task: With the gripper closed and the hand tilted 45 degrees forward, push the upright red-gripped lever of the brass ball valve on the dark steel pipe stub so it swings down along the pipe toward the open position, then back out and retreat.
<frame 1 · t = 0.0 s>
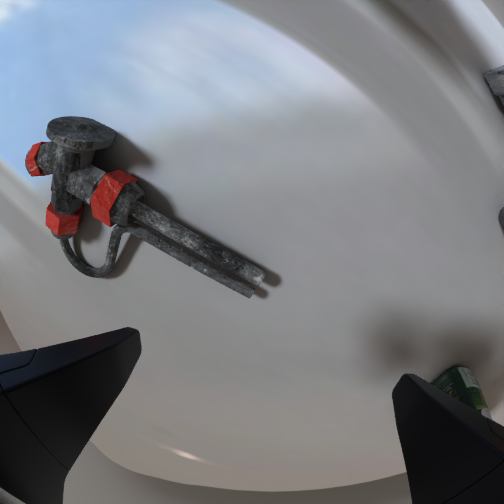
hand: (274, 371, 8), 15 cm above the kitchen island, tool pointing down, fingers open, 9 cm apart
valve: (127, 223, 24), on the kitchen island
coffee jar: (441, 387, 26), on the kitchen island
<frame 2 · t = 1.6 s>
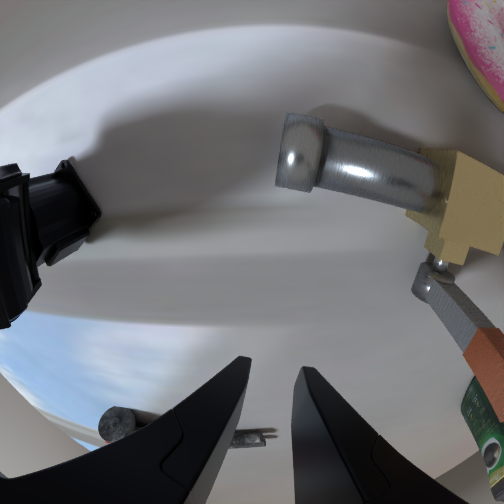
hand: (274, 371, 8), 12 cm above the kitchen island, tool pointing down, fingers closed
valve: (182, 436, 32), on the kitchen island
pipe valve: (444, 192, 16), on the kitchen island
lever: (467, 324, 11), point 7 cm above the kitchen island, hinge at 0.0°
donut: (493, 54, 11), on the kitchen island
coffee jar: (483, 382, 22), on the kitchen island
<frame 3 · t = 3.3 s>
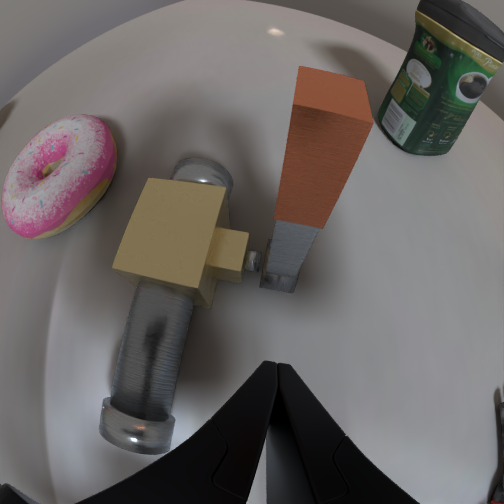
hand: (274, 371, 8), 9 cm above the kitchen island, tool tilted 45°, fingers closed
pipe valve: (186, 259, 19), on the kitchen island
lever: (294, 223, 12), point 7 cm above the kitchen island, hinge at 0.0°
donut: (67, 187, 22), on the kitchen island
coffee jar: (411, 135, 26), on the kitchen island
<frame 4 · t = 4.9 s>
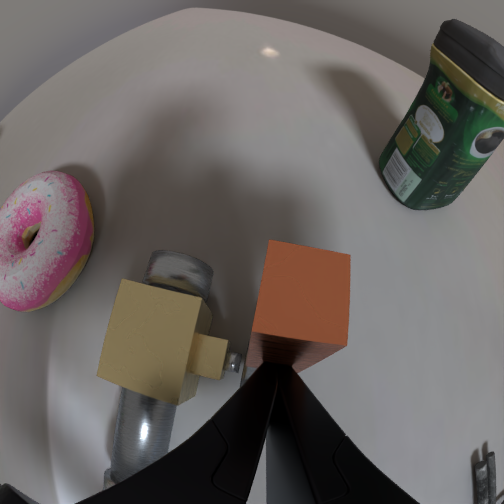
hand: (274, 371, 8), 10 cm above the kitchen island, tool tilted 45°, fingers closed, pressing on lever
pipe valve: (170, 346, 18), on the kitchen island
lever: (270, 352, 11), point 7 cm above the kitchen island, hinge at 7.8°, touching gripper
donut: (49, 250, 21), on the kitchen island
coffee jar: (414, 182, 25), on the kitchen island
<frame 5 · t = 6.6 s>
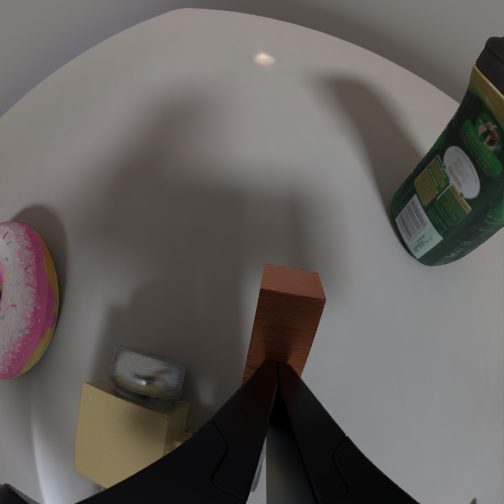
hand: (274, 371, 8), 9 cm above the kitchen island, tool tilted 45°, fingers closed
pipe valve: (147, 431, 14), on the kitchen island
lever: (255, 419, 10), point 6 cm above the kitchen island, hinge at 49.4°
donut: (19, 307, 17), on the kitchen island
coffee jar: (430, 226, 21), on the kitchen island
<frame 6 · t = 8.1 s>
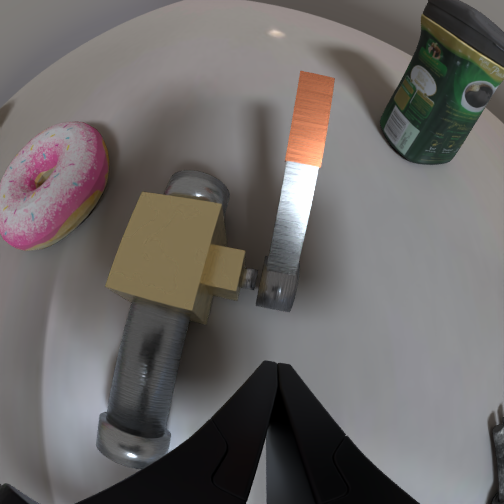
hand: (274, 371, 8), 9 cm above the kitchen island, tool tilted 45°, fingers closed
pipe valve: (182, 274, 18), on the kitchen island
lever: (295, 195, 14), point 6 cm above the kitchen island, hinge at 49.4°
donut: (60, 196, 21), on the kitchen island
coffee jar: (413, 142, 25), on the kitchen island
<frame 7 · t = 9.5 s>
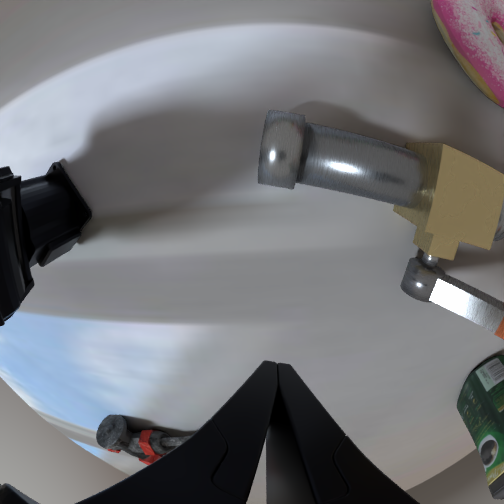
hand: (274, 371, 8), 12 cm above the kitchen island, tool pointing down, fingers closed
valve: (174, 439, 32), on the kitchen island
pipe valve: (433, 187, 16), on the kitchen island
lever: (481, 308, 13), point 6 cm above the kitchen island, hinge at 49.4°
donut: (481, 43, 11), on the kitchen island
coffee jar: (479, 378, 23), on the kitchen island
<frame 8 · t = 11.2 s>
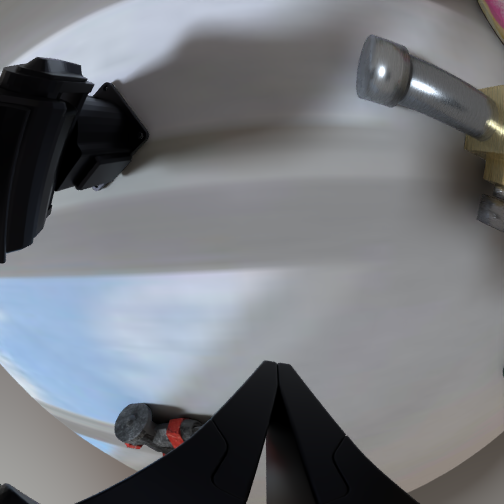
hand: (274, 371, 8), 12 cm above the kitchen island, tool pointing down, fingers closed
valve: (206, 429, 30), on the kitchen island
pipe valve: (491, 133, 13), on the kitchen island
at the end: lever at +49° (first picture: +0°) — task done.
